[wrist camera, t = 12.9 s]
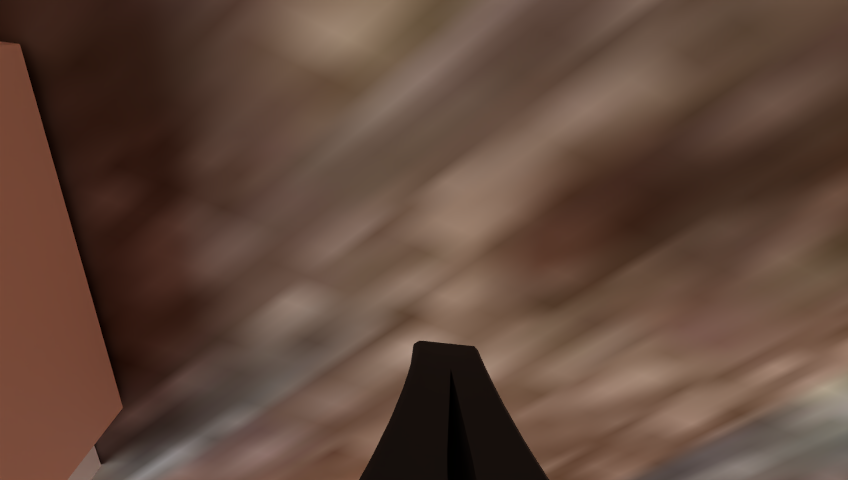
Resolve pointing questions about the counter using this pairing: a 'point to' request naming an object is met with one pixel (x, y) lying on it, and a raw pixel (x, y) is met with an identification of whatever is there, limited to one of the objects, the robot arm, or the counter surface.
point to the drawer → (43, 305)
